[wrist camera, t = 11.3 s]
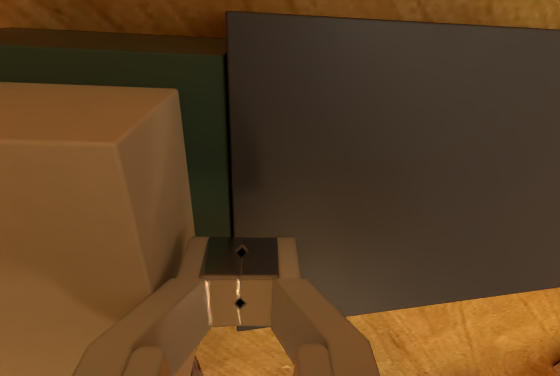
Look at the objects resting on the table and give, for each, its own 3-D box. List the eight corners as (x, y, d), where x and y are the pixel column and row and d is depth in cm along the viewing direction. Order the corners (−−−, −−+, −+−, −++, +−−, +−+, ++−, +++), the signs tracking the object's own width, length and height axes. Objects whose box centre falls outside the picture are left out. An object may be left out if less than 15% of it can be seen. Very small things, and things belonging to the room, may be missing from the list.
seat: (11, 27, 12) (-156, 37, 7) (239, 38, 13) (224, 55, 8) (81, 228, 17) (10, 312, 12) (242, 230, 18) (234, 310, 13)
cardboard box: (-100, 77, 8) (-395, 129, 4) (178, 88, 8) (114, 143, 5) (29, 310, 12) (-64, 427, 9) (204, 309, 13) (181, 420, 9)
